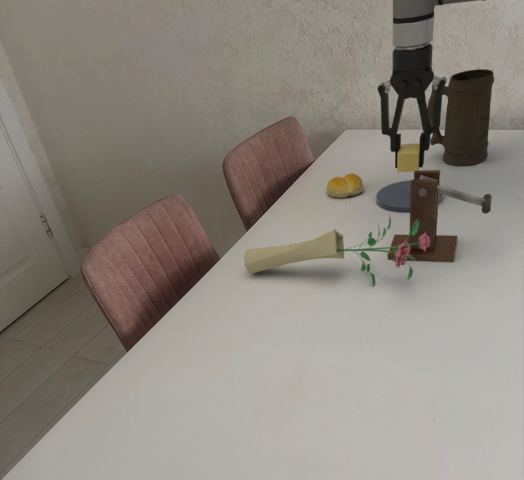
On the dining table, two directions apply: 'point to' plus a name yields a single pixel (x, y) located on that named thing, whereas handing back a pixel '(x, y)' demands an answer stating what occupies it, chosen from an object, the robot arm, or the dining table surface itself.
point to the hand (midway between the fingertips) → (409, 165)
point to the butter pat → (408, 158)
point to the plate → (397, 197)
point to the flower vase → (327, 251)
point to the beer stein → (465, 117)
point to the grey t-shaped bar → (465, 196)
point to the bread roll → (345, 186)
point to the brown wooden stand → (426, 221)
